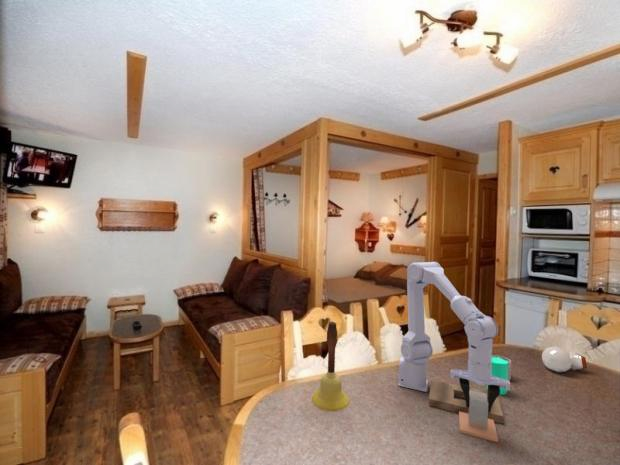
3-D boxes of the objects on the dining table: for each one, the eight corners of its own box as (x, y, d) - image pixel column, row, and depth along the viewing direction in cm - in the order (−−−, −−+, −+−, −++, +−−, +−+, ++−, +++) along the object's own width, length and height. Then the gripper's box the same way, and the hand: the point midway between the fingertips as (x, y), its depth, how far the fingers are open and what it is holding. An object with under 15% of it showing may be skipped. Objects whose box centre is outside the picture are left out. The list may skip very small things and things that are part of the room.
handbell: (342, 387, 106) (344, 315, 105) (355, 408, 94) (358, 327, 93) (307, 391, 103) (309, 317, 102) (316, 413, 91) (318, 330, 90)
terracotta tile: (459, 432, 84) (460, 429, 84) (458, 413, 92) (458, 411, 92) (498, 442, 80) (498, 439, 80) (493, 422, 89) (493, 419, 89)
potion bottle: (540, 372, 122) (573, 376, 124) (560, 368, 114) (596, 371, 116) (532, 348, 128) (564, 352, 129) (550, 342, 120) (585, 346, 121)
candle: (510, 395, 103) (511, 360, 102) (490, 393, 104) (491, 358, 104) (502, 386, 109) (504, 353, 108) (484, 384, 110) (485, 351, 110)
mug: (510, 375, 117) (511, 358, 117) (510, 382, 111) (511, 364, 111) (480, 368, 122) (481, 351, 122) (479, 375, 117) (480, 357, 117)
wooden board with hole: (428, 405, 96) (429, 398, 96) (430, 385, 108) (431, 379, 108) (503, 423, 88) (503, 416, 88) (496, 400, 100) (496, 393, 100)
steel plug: (468, 425, 86) (469, 397, 85) (467, 416, 90) (468, 389, 89) (487, 430, 84) (488, 402, 83) (485, 421, 88) (486, 393, 88)
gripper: (451, 360, 85) (449, 408, 85) (513, 372, 79) (510, 423, 80) (451, 351, 91) (449, 396, 92) (508, 361, 86) (506, 408, 86)
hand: (477, 408), depth 86 cm, fingers closed on steel plug, 4 cm apart
